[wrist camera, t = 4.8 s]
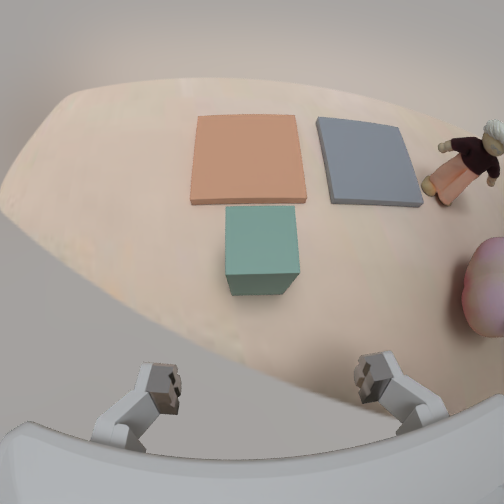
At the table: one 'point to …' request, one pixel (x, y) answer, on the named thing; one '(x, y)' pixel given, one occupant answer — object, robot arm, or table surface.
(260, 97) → the table surface
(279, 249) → the green wooden block
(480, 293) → the decorative fruit
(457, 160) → the grandmother figurine
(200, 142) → the terracotta tile
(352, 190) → the slate tile
